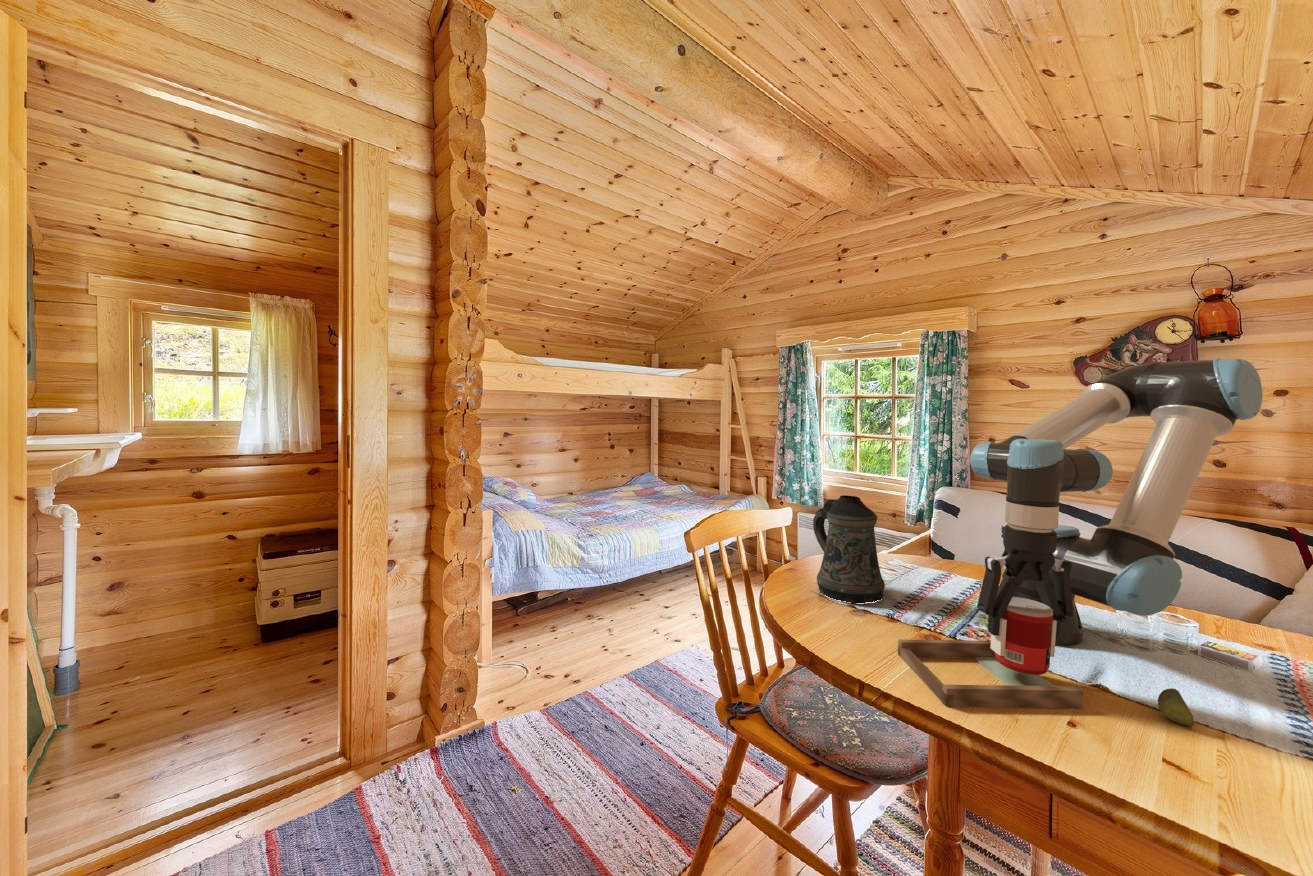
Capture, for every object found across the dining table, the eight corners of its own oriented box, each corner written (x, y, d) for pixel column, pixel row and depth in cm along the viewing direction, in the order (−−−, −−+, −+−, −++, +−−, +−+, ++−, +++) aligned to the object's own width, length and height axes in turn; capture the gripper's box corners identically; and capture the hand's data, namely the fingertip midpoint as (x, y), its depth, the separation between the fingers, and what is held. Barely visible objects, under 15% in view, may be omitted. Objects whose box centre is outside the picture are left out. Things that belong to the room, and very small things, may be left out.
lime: (1169, 711, 81) (1172, 681, 81) (1206, 730, 77) (1209, 698, 76) (1147, 713, 81) (1149, 683, 80) (1183, 733, 76) (1185, 701, 76)
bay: (1010, 655, 99) (1011, 641, 99) (1082, 708, 82) (1083, 690, 82) (897, 654, 99) (898, 639, 99) (945, 706, 82) (946, 688, 82)
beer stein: (877, 610, 120) (882, 507, 118) (797, 593, 130) (799, 498, 129) (889, 589, 134) (892, 496, 132) (815, 575, 144) (817, 488, 142)
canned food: (1058, 678, 86) (1063, 615, 85) (1006, 673, 87) (1010, 611, 86) (1034, 656, 93) (1038, 598, 92) (986, 651, 95) (990, 594, 94)
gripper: (1072, 523, 92) (1064, 643, 94) (957, 521, 92) (951, 641, 94) (1108, 533, 85) (1098, 664, 86) (983, 531, 85) (976, 662, 86)
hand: (1021, 652), depth 90 cm, fingers closed on canned food, 8 cm apart
